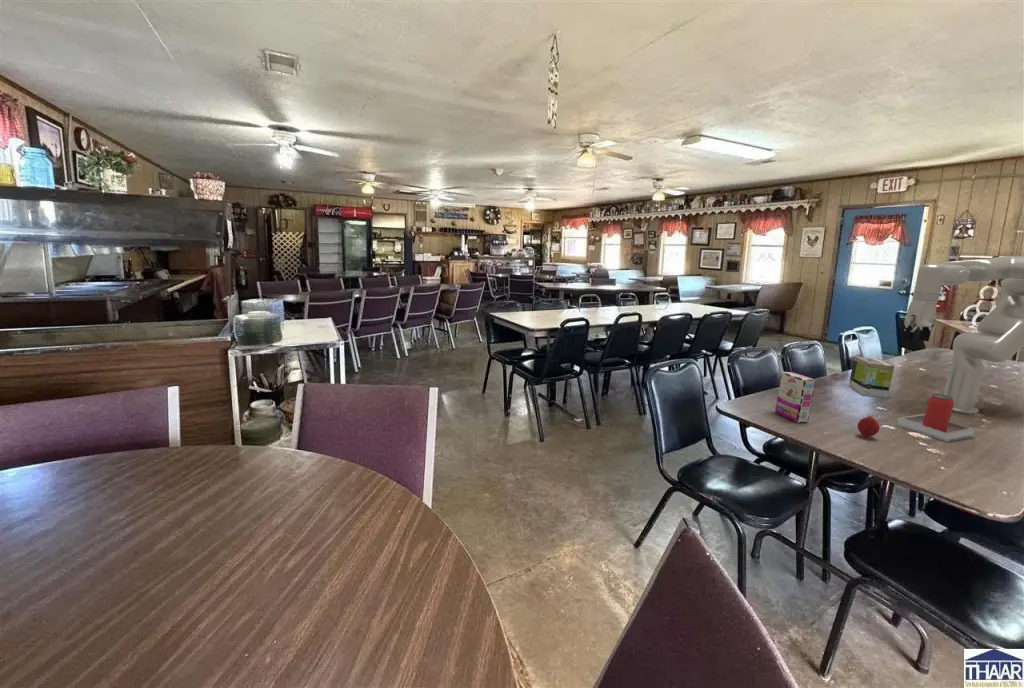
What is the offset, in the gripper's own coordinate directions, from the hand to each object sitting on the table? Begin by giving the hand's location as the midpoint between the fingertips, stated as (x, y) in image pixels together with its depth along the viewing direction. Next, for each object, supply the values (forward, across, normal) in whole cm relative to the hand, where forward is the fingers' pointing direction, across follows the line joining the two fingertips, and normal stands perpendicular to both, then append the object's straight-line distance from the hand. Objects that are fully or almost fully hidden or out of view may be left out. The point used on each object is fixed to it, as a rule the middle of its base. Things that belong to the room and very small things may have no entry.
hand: (915, 341), depth 179 cm
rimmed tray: (+28, +14, +18) cm, 36 cm away
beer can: (+28, +13, +18) cm, 36 cm away
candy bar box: (+28, +53, -6) cm, 60 cm away
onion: (+28, +44, +15) cm, 54 cm away
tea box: (+29, -12, -20) cm, 37 cm away
